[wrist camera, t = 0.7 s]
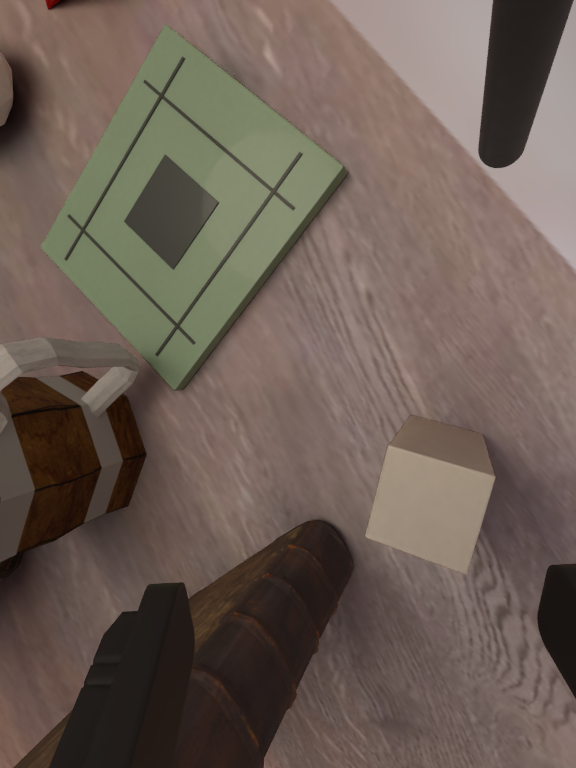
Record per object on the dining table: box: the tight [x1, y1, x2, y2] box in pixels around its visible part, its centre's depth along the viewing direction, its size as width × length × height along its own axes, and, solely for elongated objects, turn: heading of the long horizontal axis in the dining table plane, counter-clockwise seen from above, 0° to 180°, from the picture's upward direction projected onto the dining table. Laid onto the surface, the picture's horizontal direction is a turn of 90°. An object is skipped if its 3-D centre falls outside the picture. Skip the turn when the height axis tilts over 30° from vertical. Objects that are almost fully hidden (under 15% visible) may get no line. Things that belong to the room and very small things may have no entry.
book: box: [14, 520, 353, 768], centre depth 23 cm, size 17×7×25 cm, turn 126°
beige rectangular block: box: [365, 415, 495, 574], centre depth 24 cm, size 5×5×10 cm
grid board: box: [41, 24, 348, 390], centre depth 34 cm, size 20×18×1 cm
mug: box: [0, 337, 146, 562], centre depth 32 cm, size 20×14×15 cm
